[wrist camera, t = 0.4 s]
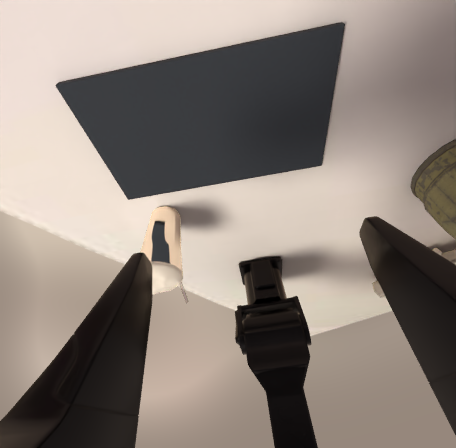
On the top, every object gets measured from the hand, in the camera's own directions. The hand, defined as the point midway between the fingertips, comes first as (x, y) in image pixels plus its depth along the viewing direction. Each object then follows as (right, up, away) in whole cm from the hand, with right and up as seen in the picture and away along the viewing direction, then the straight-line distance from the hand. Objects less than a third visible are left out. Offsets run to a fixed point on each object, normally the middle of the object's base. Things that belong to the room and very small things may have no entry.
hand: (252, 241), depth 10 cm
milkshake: (-8, +2, +18) cm, 20 cm away
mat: (-2, +9, +11) cm, 14 cm away
